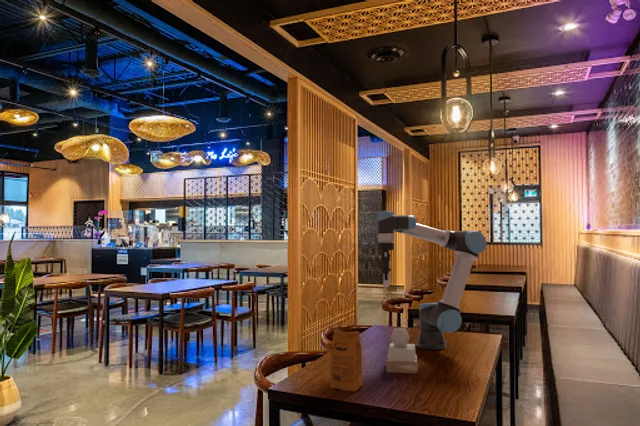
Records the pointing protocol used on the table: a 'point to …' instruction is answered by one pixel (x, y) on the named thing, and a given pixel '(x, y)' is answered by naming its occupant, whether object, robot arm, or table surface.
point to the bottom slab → (401, 366)
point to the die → (400, 337)
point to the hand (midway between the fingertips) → (386, 285)
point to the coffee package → (346, 361)
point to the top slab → (402, 353)
